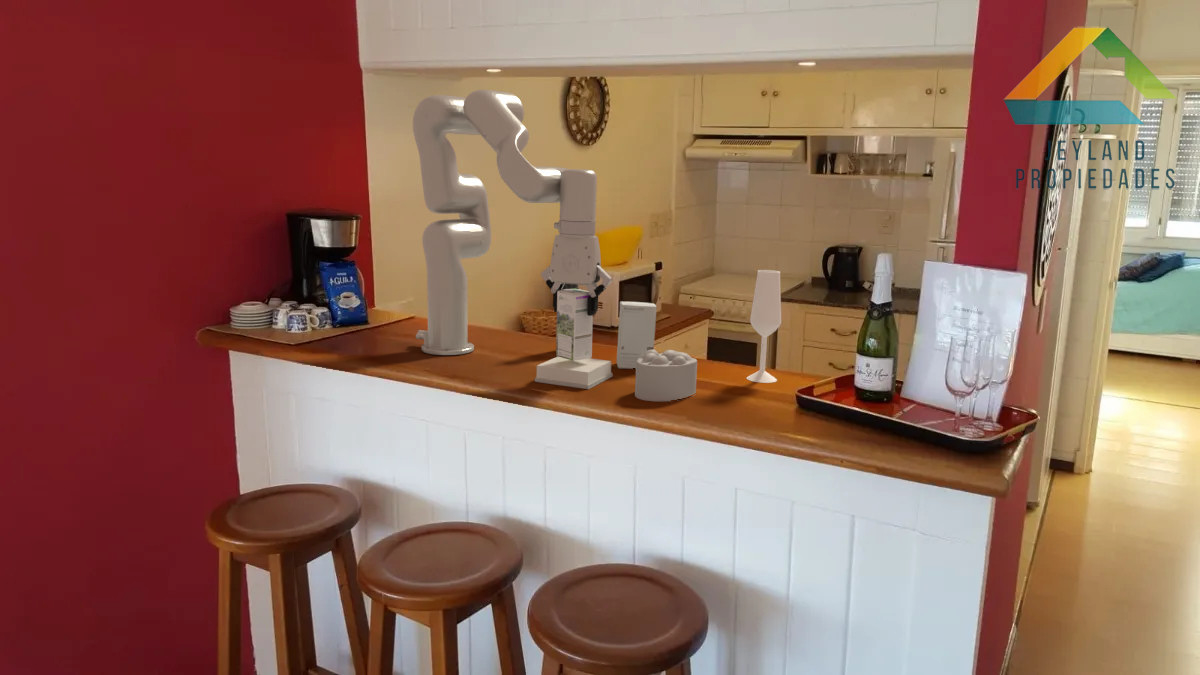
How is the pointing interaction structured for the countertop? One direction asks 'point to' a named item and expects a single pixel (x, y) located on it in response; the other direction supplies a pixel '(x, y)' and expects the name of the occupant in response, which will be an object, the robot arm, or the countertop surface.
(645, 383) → the lumpy-topped squat cylinder
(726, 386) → the countertop surface
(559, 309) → the syrup box
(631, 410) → the countertop surface
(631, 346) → the skincare box
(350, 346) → the countertop surface
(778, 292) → the champagne flute
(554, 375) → the cream square tile
